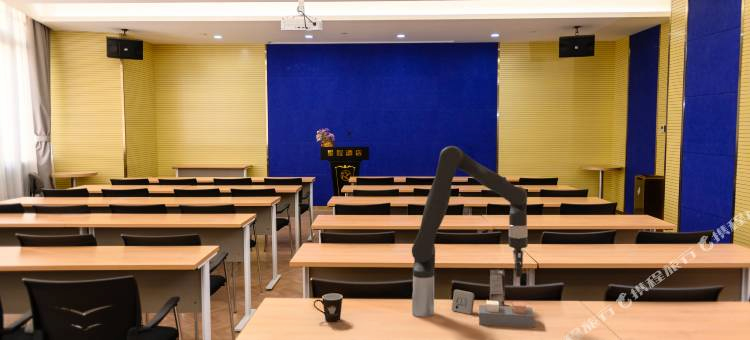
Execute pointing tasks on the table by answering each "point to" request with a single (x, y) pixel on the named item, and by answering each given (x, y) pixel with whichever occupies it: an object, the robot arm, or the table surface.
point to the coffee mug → (331, 307)
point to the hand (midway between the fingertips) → (518, 273)
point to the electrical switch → (463, 301)
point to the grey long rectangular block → (506, 317)
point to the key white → (492, 306)
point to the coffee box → (497, 286)
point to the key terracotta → (519, 307)
